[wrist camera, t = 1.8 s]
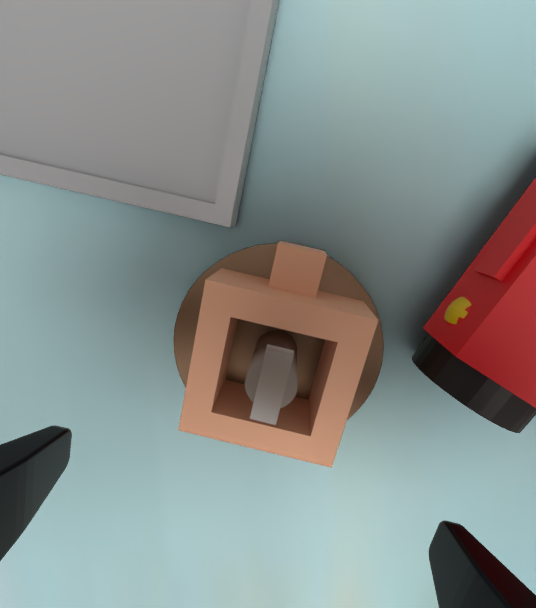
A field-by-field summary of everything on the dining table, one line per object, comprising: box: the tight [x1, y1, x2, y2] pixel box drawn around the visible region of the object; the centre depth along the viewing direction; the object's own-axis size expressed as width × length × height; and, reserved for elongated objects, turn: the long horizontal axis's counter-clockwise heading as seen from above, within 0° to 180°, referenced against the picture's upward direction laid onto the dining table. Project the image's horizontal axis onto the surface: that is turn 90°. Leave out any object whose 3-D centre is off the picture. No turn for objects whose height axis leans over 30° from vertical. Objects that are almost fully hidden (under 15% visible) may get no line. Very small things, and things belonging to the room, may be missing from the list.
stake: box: [174, 243, 383, 425], centre depth 15 cm, size 10×10×5 cm
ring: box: [179, 241, 378, 468], centre depth 15 cm, size 8×7×3 cm
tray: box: [0, 0, 279, 227], centre depth 14 cm, size 14×14×2 cm
